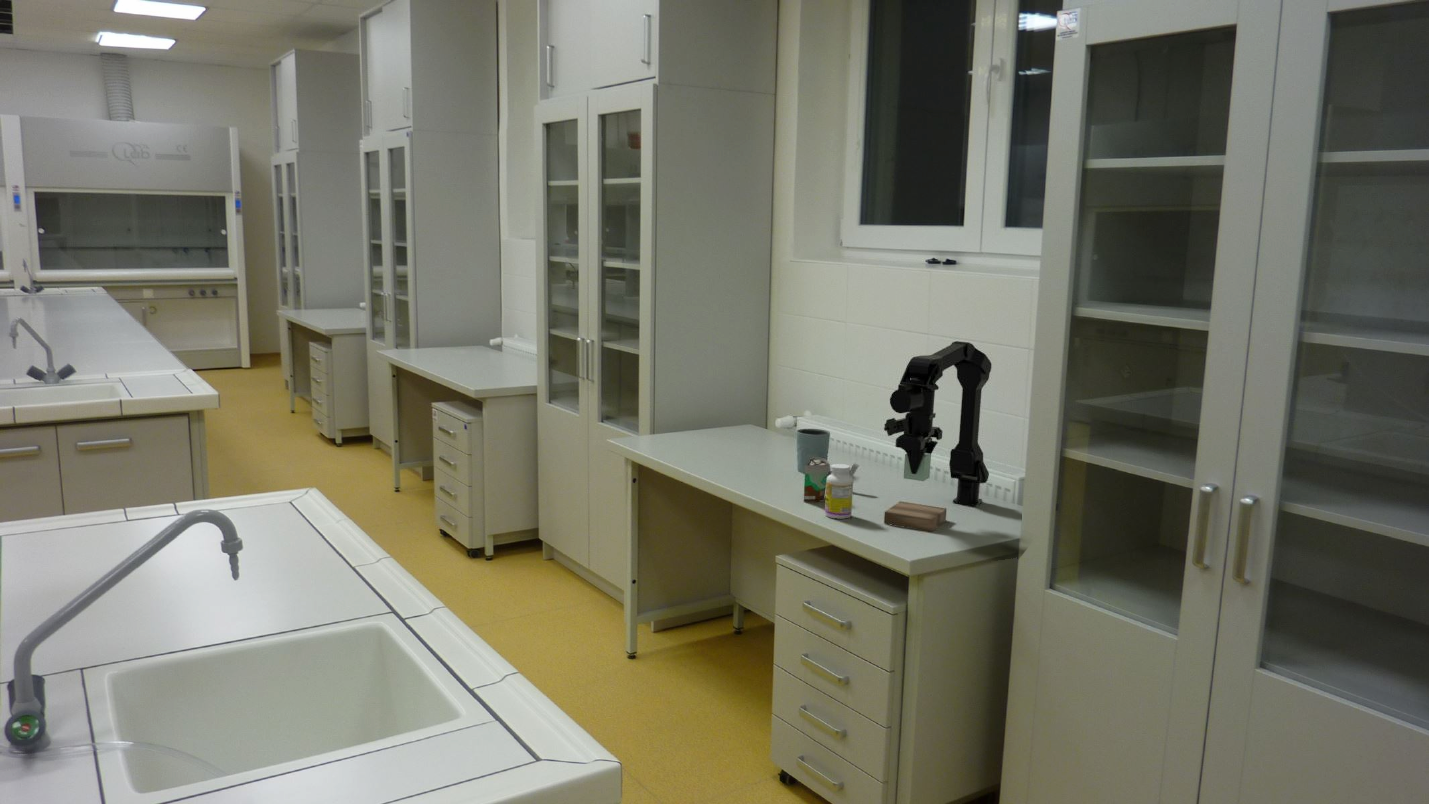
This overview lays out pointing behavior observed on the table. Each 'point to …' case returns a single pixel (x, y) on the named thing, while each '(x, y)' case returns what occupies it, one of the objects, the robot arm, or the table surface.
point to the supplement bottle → (839, 492)
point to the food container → (815, 479)
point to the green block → (923, 469)
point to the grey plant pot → (811, 446)
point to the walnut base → (915, 516)
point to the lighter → (853, 469)
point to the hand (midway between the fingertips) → (917, 471)
